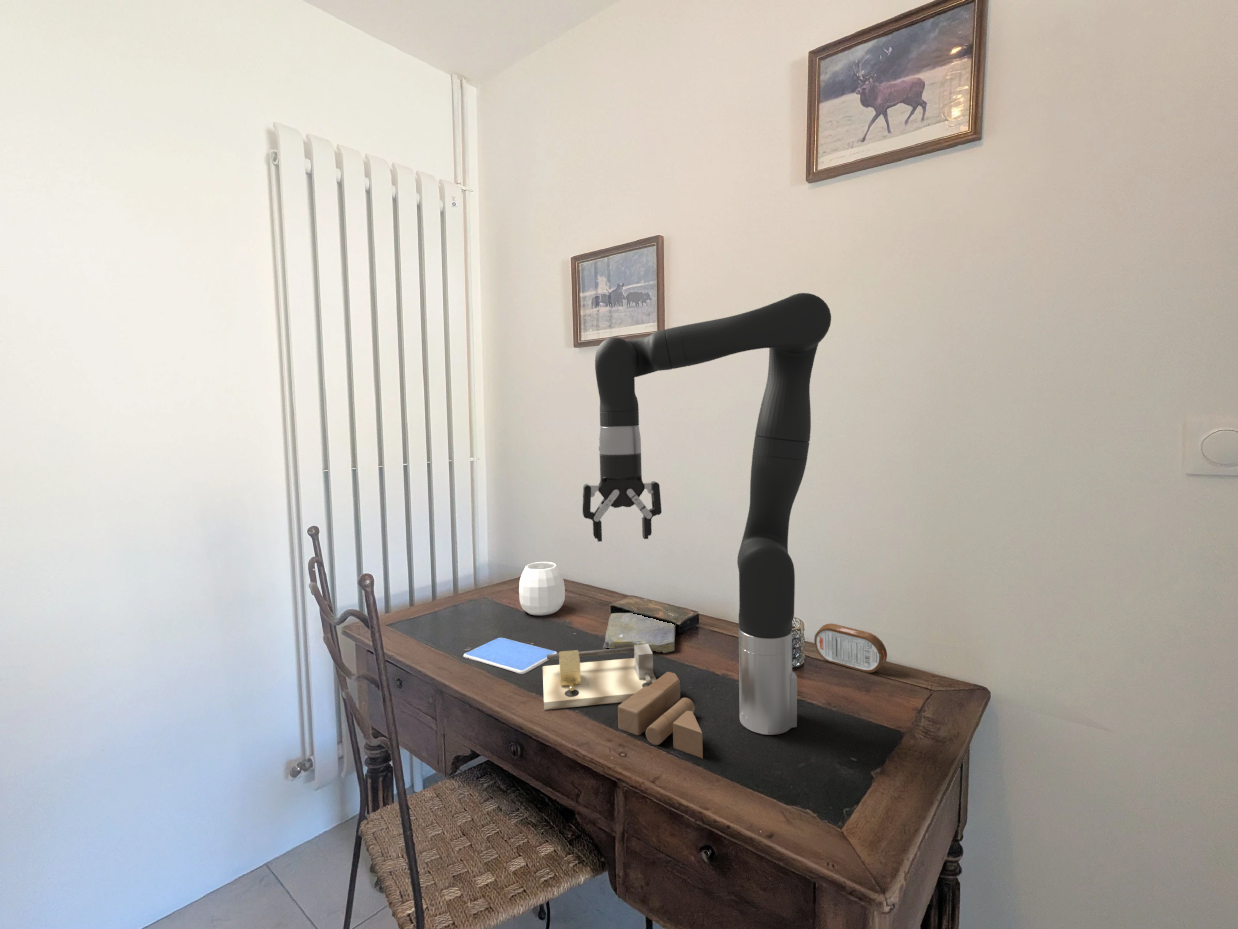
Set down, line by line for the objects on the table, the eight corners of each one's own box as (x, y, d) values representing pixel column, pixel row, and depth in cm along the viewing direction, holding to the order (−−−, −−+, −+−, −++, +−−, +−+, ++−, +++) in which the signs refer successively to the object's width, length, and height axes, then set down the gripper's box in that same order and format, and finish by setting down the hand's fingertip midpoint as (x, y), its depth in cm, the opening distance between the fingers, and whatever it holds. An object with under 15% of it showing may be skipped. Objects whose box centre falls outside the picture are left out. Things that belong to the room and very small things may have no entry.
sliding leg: (578, 673, 120) (578, 650, 120) (582, 692, 112) (581, 667, 112) (559, 674, 120) (558, 651, 119) (561, 694, 111) (560, 669, 111)
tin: (887, 673, 120) (887, 635, 120) (882, 679, 118) (882, 639, 117) (818, 654, 131) (818, 618, 130) (812, 659, 128) (812, 622, 128)
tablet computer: (461, 658, 135) (461, 653, 135) (500, 640, 145) (499, 635, 145) (522, 677, 124) (522, 671, 124) (559, 656, 135) (558, 651, 135)
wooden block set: (613, 702, 101) (665, 664, 116) (614, 733, 102) (666, 691, 116) (698, 730, 91) (744, 685, 106) (699, 764, 92) (744, 714, 106)
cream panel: (646, 663, 128) (645, 634, 128) (661, 698, 112) (660, 664, 112) (542, 672, 125) (541, 642, 124) (544, 709, 109) (542, 675, 109)
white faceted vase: (563, 619, 158) (561, 571, 157) (515, 620, 158) (513, 572, 157) (567, 603, 171) (566, 559, 170) (524, 604, 171) (522, 560, 170)
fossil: (601, 659, 134) (675, 656, 132) (600, 640, 134) (673, 636, 132) (612, 629, 154) (676, 626, 152) (610, 613, 154) (674, 609, 152)
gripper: (582, 454, 98) (585, 546, 100) (663, 451, 100) (665, 541, 102) (579, 451, 106) (582, 537, 107) (654, 448, 108) (656, 533, 109)
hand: (622, 539), depth 104 cm, fingers open, 8 cm apart
